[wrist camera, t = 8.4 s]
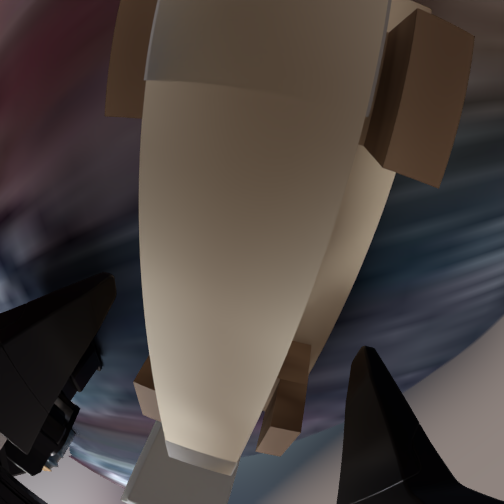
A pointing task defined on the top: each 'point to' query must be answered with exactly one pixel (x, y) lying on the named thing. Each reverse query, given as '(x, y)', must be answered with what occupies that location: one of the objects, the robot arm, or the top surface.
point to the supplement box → (173, 478)
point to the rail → (242, 196)
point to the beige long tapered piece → (360, 179)
